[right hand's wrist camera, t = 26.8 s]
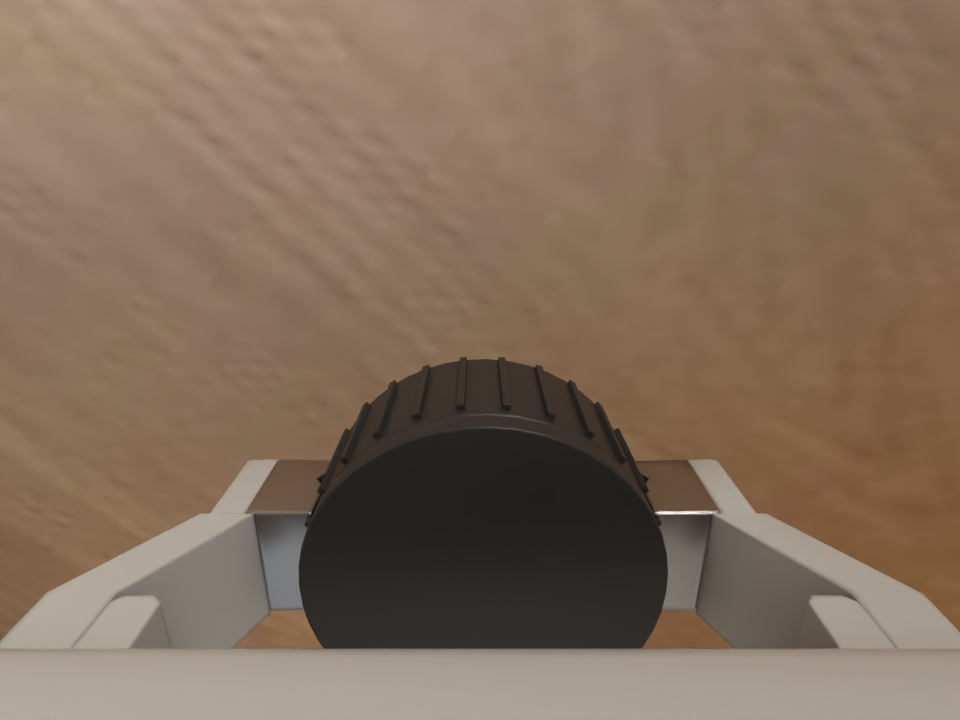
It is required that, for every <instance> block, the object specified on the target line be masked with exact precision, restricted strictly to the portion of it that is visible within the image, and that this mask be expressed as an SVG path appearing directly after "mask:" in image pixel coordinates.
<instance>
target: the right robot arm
mask: <svg viewBox="0 0 960 720" xmlns="http://www.w3.org/2000/svg"><path fill="white" fill-rule="evenodd" d="M330 462H331V461H330V460H279V459H257V460H250V461H247V462H246V464H245V465H244V466H243V468H242V469H241V471H240V472H239V473H238V475H237V476H236V478H235V479H234V480H233V482H232V483H231V484H230V486H229V487H228V489H227V490H226V491H225V493H224V494H223V496H222V497H221V498H220V500H219V501H218V502H217V504H216V505H215V507H214V508H213V509H212V511H211V512H210V513H205V514H198V515H196V516H195V517H193V518H191V519H189V520H187V521H185V522H183V523H181V524H179V525H177V526H175V527H173V528H171V529H169V530H167V531H165V532H163V533H161V534H159V535H158V536H156V537H154V538H152V539H150V540H148V541H146V542H144V543H142V544H140V545H138V546H136V547H134V548H132V549H130V550H128V551H126V552H124V553H123V554H121V555H119V556H117V557H115V558H113V559H111V560H109V561H107V562H105V563H103V564H101V565H99V566H97V567H95V568H93V569H91V570H89V571H88V572H86V573H84V574H82V575H80V576H78V577H76V578H74V579H72V580H70V581H68V582H66V583H64V584H62V585H60V586H58V587H56V588H54V589H52V590H51V591H49V592H47V593H45V594H44V595H43V597H42V598H41V599H40V600H39V601H38V602H37V603H36V604H35V605H34V606H33V607H32V608H31V609H30V610H29V611H28V612H27V613H26V614H25V615H24V616H23V617H22V619H21V620H20V621H19V622H18V623H17V624H16V625H15V626H14V627H13V628H12V629H11V630H10V631H9V632H8V633H7V634H6V635H5V636H4V637H3V638H2V639H1V641H0V720H960V632H959V631H958V630H957V628H956V627H955V626H954V625H953V624H952V623H951V622H950V621H949V620H948V619H947V618H946V617H945V616H944V615H943V614H942V613H941V612H940V611H939V610H938V609H937V608H936V607H935V606H934V605H933V604H932V603H931V602H930V600H929V599H928V598H927V597H926V596H925V595H924V594H923V593H921V592H919V591H917V590H915V589H913V588H911V587H909V586H907V585H905V584H903V583H901V582H899V581H897V580H895V579H893V578H891V577H889V576H887V575H885V574H883V573H881V572H879V571H877V570H876V569H874V568H872V567H870V566H868V565H866V564H864V563H862V562H860V561H858V560H856V559H854V558H852V557H850V556H848V555H846V554H844V553H842V552H840V551H838V550H836V549H834V548H832V547H830V546H829V545H827V544H825V543H823V542H821V541H819V540H817V539H815V538H813V537H811V536H809V535H807V534H805V533H803V532H801V531H799V530H797V529H795V528H793V527H791V526H789V525H787V524H785V523H783V522H782V521H780V520H778V519H776V518H774V517H772V516H770V515H768V514H761V513H756V512H755V511H754V509H753V508H752V507H751V505H750V504H749V503H748V501H747V500H746V499H745V497H744V496H743V495H742V493H741V492H740V490H739V489H738V488H737V486H736V485H735V484H734V482H733V481H732V480H731V478H730V477H729V476H728V474H727V473H726V472H725V470H724V469H723V468H722V466H721V465H720V464H719V462H718V461H716V460H714V459H697V460H660V461H635V462H636V464H637V466H638V468H639V471H640V473H641V475H642V477H643V479H644V481H645V483H646V485H647V487H648V489H649V492H648V493H646V494H645V496H646V498H647V501H648V503H649V505H650V507H651V509H652V511H653V513H654V516H655V518H658V517H659V518H660V520H661V526H659V528H660V530H661V532H662V535H663V539H664V543H665V548H666V552H667V563H668V580H667V590H666V596H665V600H664V603H663V607H662V610H696V614H697V615H698V616H700V617H701V618H702V619H703V620H704V621H705V622H706V623H707V624H708V625H709V626H711V627H712V628H713V629H714V630H715V631H716V632H717V633H718V634H719V635H720V636H722V637H723V638H724V639H725V640H726V641H727V642H728V643H729V644H730V645H731V646H732V647H734V648H735V649H232V648H233V647H234V646H235V645H236V644H237V643H238V642H239V641H240V640H241V639H243V638H244V637H245V636H246V635H247V634H248V633H249V632H250V631H251V630H252V629H253V628H255V627H256V626H257V625H258V624H259V623H260V622H261V621H262V620H263V619H264V618H265V617H267V616H268V615H269V614H270V610H304V608H303V604H302V599H301V594H300V588H299V559H300V552H301V546H302V543H303V540H304V537H305V533H306V530H307V527H305V521H306V519H307V517H310V518H312V516H313V514H314V512H315V509H316V506H317V504H318V502H319V499H320V497H321V494H319V493H317V490H318V488H319V486H320V484H321V482H322V479H323V477H324V475H325V473H326V470H327V468H328V466H329V464H330Z"/></svg>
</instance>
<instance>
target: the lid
mask: <svg viewBox="0 0 960 720" xmlns="http://www.w3.org/2000/svg"><path fill="white" fill-rule="evenodd" d="M648 492H649V489H648V487H647V485H646V483H645V481H644V479H643V477H642V475H641V473H640V471H639V468H638V466H637V464H636V462H635V460H634V458H633V456H632V454H631V452H630V450H629V448H628V446H627V444H626V442H625V440H624V438H623V436H622V433H621V432H620V430H619V428H618V429H616V430H614V429H613V428H612V426H611V424H610V422H609V420H608V418H607V416H606V413H605V411H604V409H603V407H602V405H601V404H600V403H599V402H597V403H596V404H594V403H593V402H592V401H591V400H590V399H588V398H587V397H586V396H585V395H584V394H583V393H582V392H581V391H579V390H578V389H577V386H576V384H575V383H574V382H573V381H571V380H570V381H569V382H568V383H567V382H566V381H564V380H562V379H560V378H558V377H556V376H554V375H552V374H550V373H548V372H545V371H543V368H542V367H541V366H539V365H536V367H535V368H534V367H531V366H528V365H523V364H519V363H514V362H509V361H506V360H505V358H502V357H499V358H498V360H488V359H484V360H467V358H466V357H463V358H460V361H458V362H451V363H445V364H442V365H438V366H435V367H431V368H430V366H429V365H427V366H424V367H423V368H422V371H420V372H418V373H416V374H413V375H411V376H409V377H407V378H405V379H403V380H402V381H400V382H398V383H397V382H396V381H395V380H394V381H393V382H391V383H390V384H389V387H388V389H387V390H386V391H385V392H384V393H382V394H381V395H380V396H379V397H377V398H376V399H375V400H374V401H373V402H372V403H371V404H369V403H367V402H366V403H365V404H364V405H363V407H362V409H361V411H360V414H359V416H358V418H357V421H356V422H355V424H354V425H353V427H352V428H351V430H348V429H345V431H344V433H343V435H342V437H341V439H340V442H339V444H338V446H337V448H336V450H335V453H334V455H333V457H332V459H331V462H330V464H329V466H328V468H327V470H326V473H325V475H324V477H323V479H322V482H321V484H320V486H319V488H318V490H317V493H319V494H321V497H320V499H319V502H318V504H317V506H316V509H315V512H314V514H313V516H312V518H310V517H307V519H306V521H305V527H307V530H306V533H305V537H304V540H303V543H302V546H301V552H300V559H299V588H300V594H301V599H302V604H303V608H304V610H305V613H306V616H307V619H308V622H309V624H310V626H311V628H312V630H313V632H314V633H315V635H316V637H317V639H318V641H319V642H320V643H321V645H322V646H323V648H324V649H641V648H642V647H643V646H644V644H645V643H646V641H647V639H648V638H649V636H650V635H651V633H652V631H653V630H654V627H655V625H656V623H657V621H658V618H659V616H660V614H661V611H662V607H663V603H664V600H665V596H666V590H667V580H668V563H667V552H666V548H665V543H664V539H663V535H662V532H661V530H660V528H659V526H661V520H660V518H659V517H658V518H655V516H654V513H653V511H652V509H651V507H650V505H649V503H648V501H647V498H646V496H645V494H646V493H648Z"/></svg>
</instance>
